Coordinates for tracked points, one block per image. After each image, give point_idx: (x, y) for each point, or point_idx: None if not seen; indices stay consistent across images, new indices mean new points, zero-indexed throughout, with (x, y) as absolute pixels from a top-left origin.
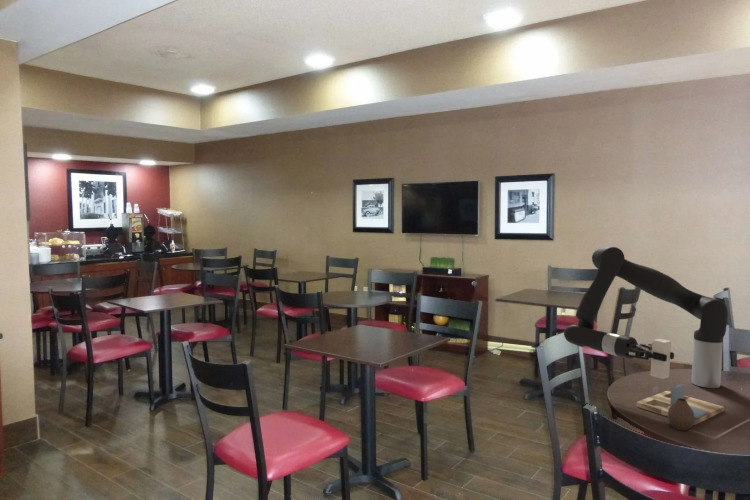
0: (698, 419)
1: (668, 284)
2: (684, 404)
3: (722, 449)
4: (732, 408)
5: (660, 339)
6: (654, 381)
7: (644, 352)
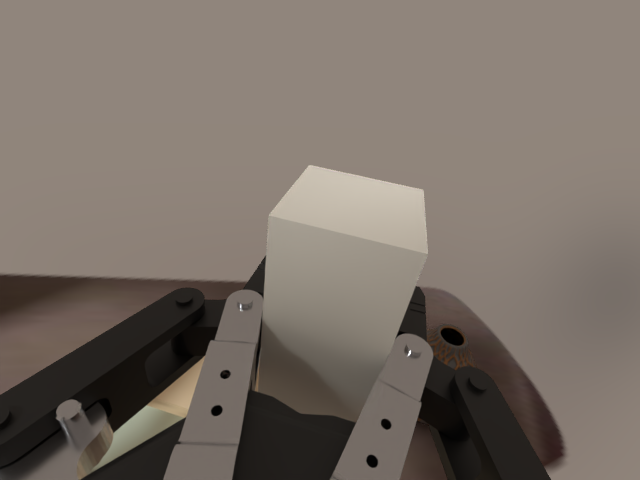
0: None
1: None
2: (458, 335)
3: (461, 313)
4: (130, 296)
5: (314, 205)
6: None
7: (507, 410)
